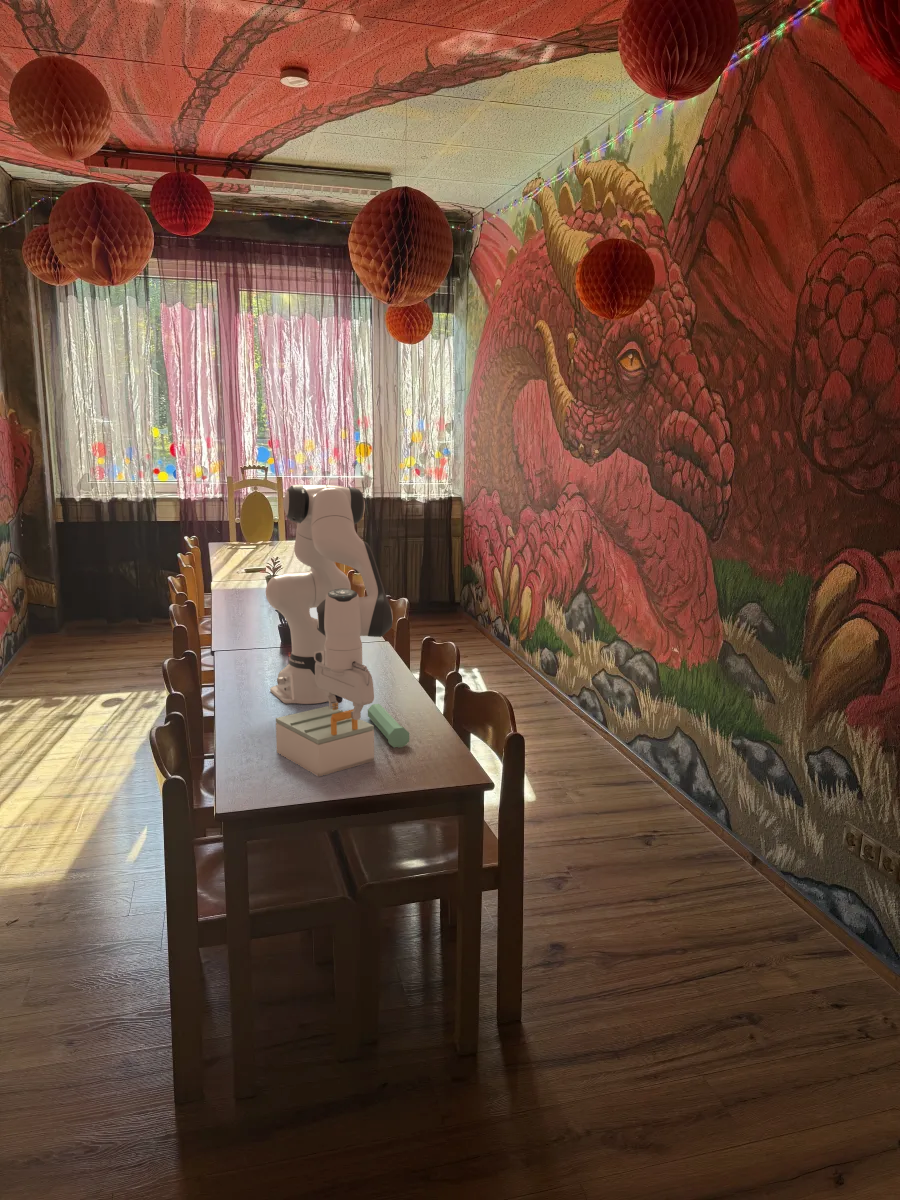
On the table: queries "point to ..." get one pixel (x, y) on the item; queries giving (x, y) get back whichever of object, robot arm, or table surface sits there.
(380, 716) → the green octagonal rod
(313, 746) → the parts tub
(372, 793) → the table surface
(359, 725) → the lid
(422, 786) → the table surface
